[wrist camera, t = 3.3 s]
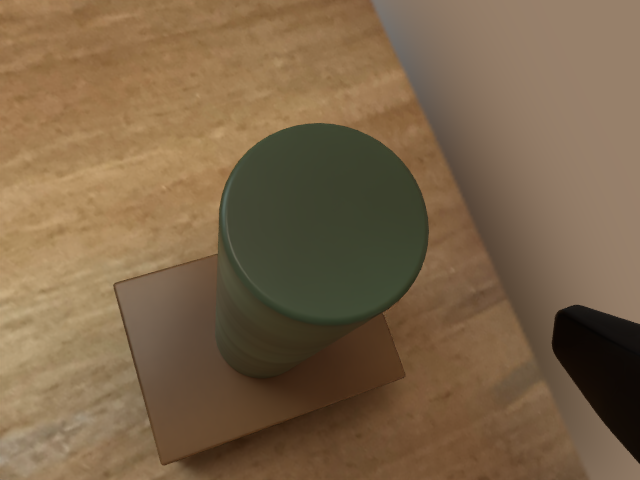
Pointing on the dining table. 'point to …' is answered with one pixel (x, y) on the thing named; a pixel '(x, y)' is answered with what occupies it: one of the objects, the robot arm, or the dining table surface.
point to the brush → (280, 291)
